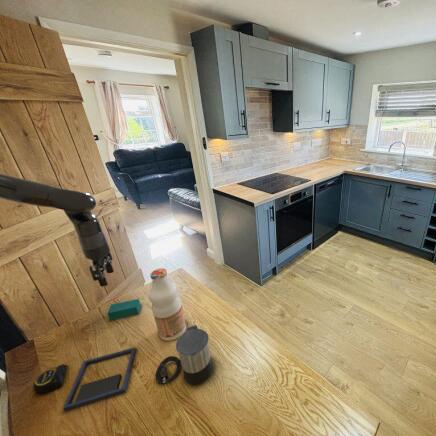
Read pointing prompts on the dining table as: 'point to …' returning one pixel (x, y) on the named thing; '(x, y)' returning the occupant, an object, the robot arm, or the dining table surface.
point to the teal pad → (124, 309)
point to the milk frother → (190, 358)
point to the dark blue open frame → (70, 405)
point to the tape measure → (50, 379)
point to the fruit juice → (166, 306)
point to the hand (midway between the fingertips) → (107, 278)
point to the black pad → (98, 387)
